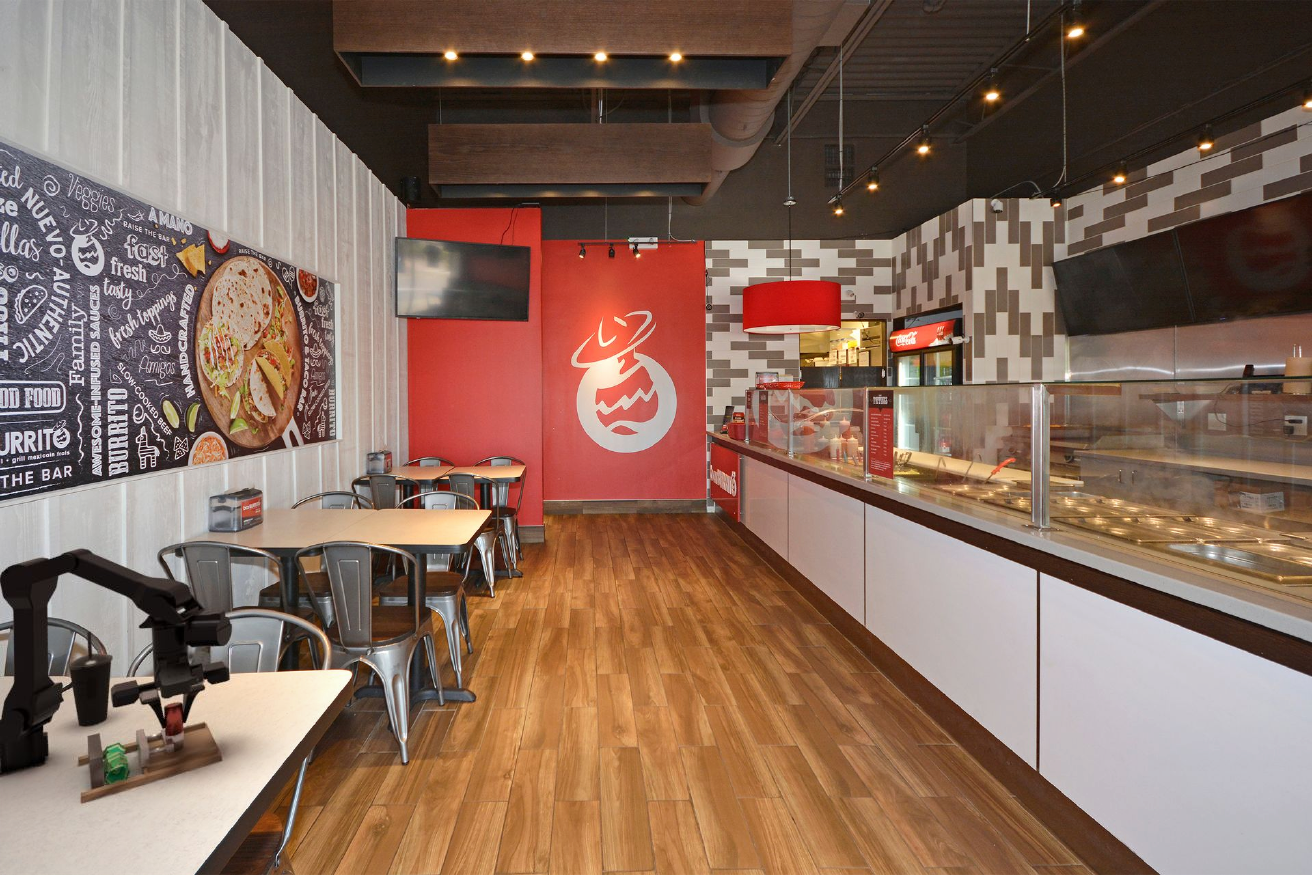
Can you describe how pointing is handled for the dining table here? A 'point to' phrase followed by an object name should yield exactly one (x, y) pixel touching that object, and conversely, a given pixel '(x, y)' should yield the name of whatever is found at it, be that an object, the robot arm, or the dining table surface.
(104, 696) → the drinking cup
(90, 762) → the wooden vise
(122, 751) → the candy
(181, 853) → the dining table surface
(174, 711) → the lever
